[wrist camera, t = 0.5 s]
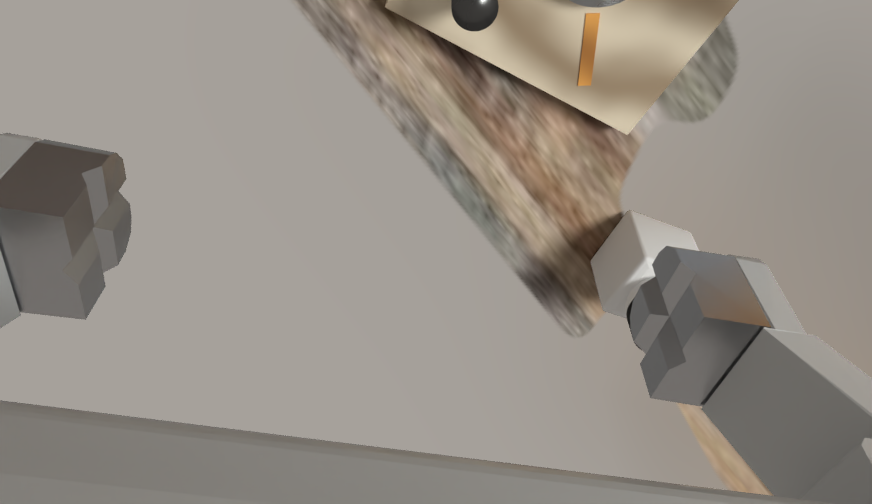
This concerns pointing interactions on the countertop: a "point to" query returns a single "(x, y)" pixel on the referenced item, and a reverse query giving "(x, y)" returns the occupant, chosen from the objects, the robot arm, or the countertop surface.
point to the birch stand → (584, 47)
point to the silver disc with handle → (480, 8)
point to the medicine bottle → (632, 259)
